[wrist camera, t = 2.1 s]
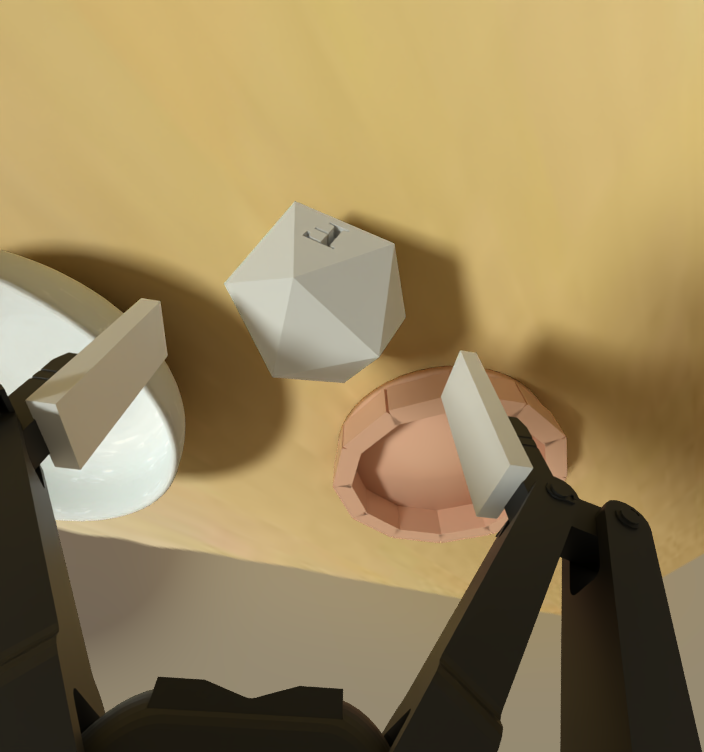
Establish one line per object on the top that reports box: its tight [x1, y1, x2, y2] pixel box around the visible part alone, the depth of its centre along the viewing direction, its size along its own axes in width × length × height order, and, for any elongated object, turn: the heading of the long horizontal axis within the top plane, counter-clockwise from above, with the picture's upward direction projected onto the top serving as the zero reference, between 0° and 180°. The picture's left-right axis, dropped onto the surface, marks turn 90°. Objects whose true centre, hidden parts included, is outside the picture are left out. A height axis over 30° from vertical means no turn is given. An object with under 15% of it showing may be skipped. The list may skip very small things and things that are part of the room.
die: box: [224, 201, 406, 383], centre depth 20 cm, size 8×9×10 cm
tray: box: [333, 366, 567, 543], centre depth 31 cm, size 18×18×4 cm
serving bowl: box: [0, 250, 185, 521], centre depth 24 cm, size 21×21×7 cm
